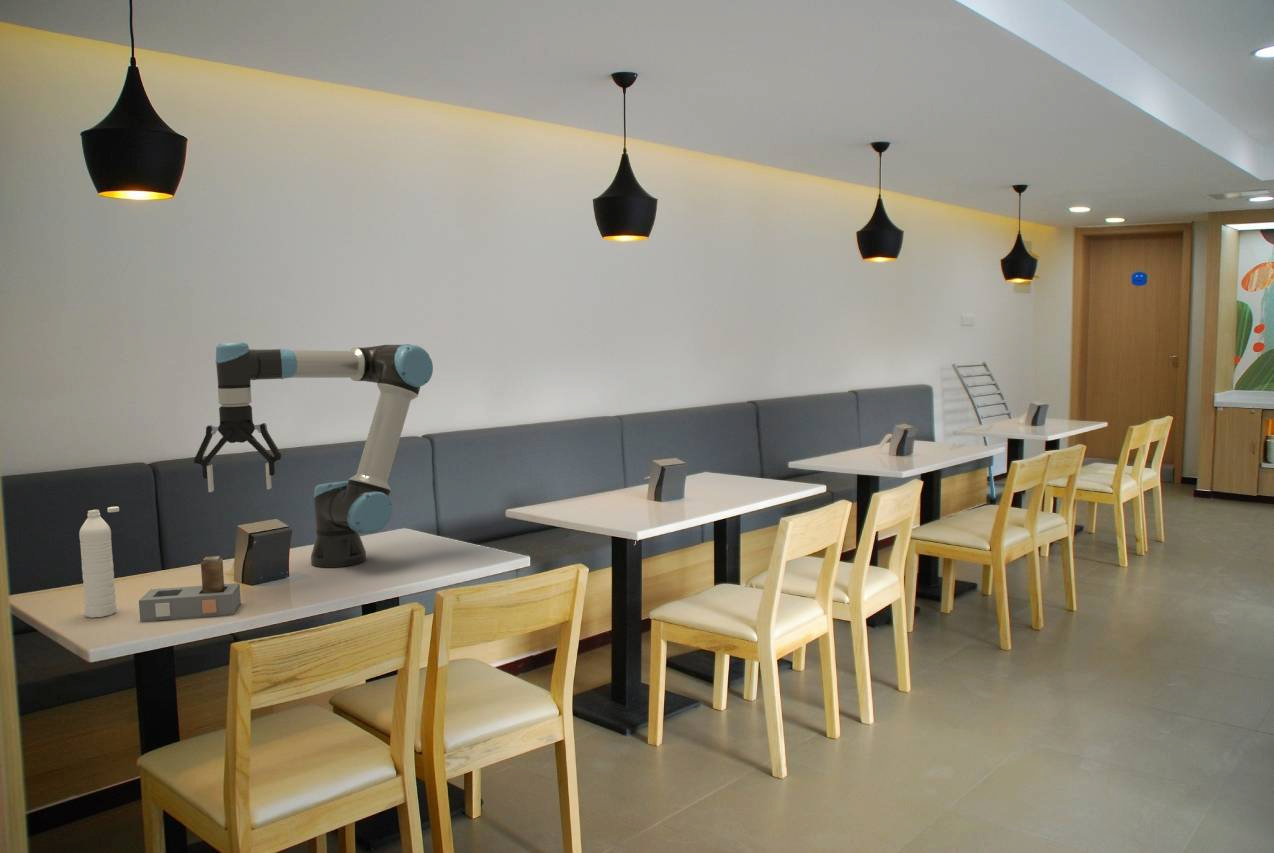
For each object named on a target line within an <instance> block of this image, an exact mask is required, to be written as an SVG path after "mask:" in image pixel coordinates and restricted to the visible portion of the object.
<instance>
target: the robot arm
mask: <svg viewBox="0 0 1274 853" xmlns="http://www.w3.org/2000/svg"><path fill="white" fill-rule="evenodd" d="M432 361H433V360H432V358H431V357H430V355H429V353H428V352H427V351H426V349H424V348H422V347H421V346H419V345H416V344H409V343H405V344H383V345H374V346H367V347H366V346H365V347H352V348H351V349H350V350H310V349H309V350H306V349H305V350H304V349H303V350H302V349H301V350H300V349H287V348H286V349H282V348H278V349H276V348H275V349H250V347H249V344H248V342H220V343H218V344H217V345H216V348H215V363H216V364H215V366H216V376H217V397H218V399H217V400H218V404H219V405H221V406H219V408H218V410H219V411H218V412H219V413H218V414H219V426H216V425H213V424H209V425H207V426H206V427H205V435H204V438H203V440H202V441H201V444H200V447H199V449H198V451H197V453H196V455H195V457H194V459H193V463H194V464H199V465H201V467H202V469H201V470H202V477H203V479H207V490H208V493H213V492H214V491H215V488H214V485H215V484H214V470H213V464H210V463H211V461H212V460H213V459H214V458H215V457H216V456H217V453H218V452H220V450H221V449H222V448H223V447H224V445H225V444H226V443H227V442H228V443H230V444H234V443H241V444H242V443H246V442H248V443H249V445H251V446H252V447H253V448H254V449H255V450H256V451H257V452H258V453H259V455H261V456H262V457H263V458H264V459H265V460H266V463H265V482H266V490H271V489H272V476H275V474H276V463H275V462H277V461H280V460H282V458H283V454H282V453H281V452H280V450H279V448H278V447H277V445H276V443H275V441H274V439H273V438H272V437H271V435H270V434H269V432H268V427H267V426H268V425H267V423H264V422H263V423H260V424H254V420H253V407H252V406H251V405H250V404H251V403H252V402H253V401H252V390H251V389H252V388H251V387H252V385H251V384H252V383H251V381H256V380H257V381H259V380H283V379H292V378H295V379H296V378H298V379H301V378H303V379H305V378H307V379H308V378H309V379H310V378H311V379H312V378H313V379H314V378H315V379H316V378H319V379H320V378H325V379H326V378H327V379H328V378H329V379H333V378H336V379H337V378H339V379H341V378H342V379H343V378H348V379H349V378H350V380H352V381H354V382H367V383H368V382H369V383H375V384H377V385H376V387H377V389H378V390H379V393H380V394H379V397H378V400H377V404H376V407H375V411H374V412H373V413H374V414H373V417H372V420H371V424H370V427H369V429H368V430H369V431H368V433H367V437H366V440H365V445H364V446H363V451H362V454H361V458H360V461H359V463H358V464H359V465H358V468H357V472H356V474H355V475H353V476H351V477H349V479H348V480H346V481H345V480H343V481H342V480H341V481H335V482H329V483H328V482H327V483H321V484H318V485H315V487H314V492H313V500H314V517H315V518H314V520H315V532H316V533H315V535H316V536H315V540H314V544H313V549H312V552H311V555H310V564H311V565H312V566H314V567H319V568H342V567H349V566H355V565H358V564H360V563H363V562H365V561H366V560H367V551H366V548H365V546H364V543H363V540H362V538H361V536H360V534H375V533H377V532H379V531H381V530H383V529H384V528H385V527H386V526H387V525H388V524H389V523H390V521H391V518H392V516H393V510H394V509H393V508H394V507H393V504H392V503H391V502H392V500H391V499H390V494H391V490H392V488H391V487H390V485H389V484H388V480H389V478H390V474H391V471H392V468H393V467H392V466H393V464H394V460H395V456H396V453H397V450H398V446H399V443H400V438H401V435H402V432H403V429H404V426H405V422H406V418H407V415H408V411H409V409H410V404H411V401H413V400H414V399H416V398H418V396H419V393H420V390H421V387H423V386H424V385H426V384H427V383H428V382H430V380H431V378H432V376H433V373H434V372H433V370H434V366H433V365H434V364H433V362H432ZM255 430H256V431H257V432H258V433H260V434H261V437H262V438H263V440H264V442H266V444H267V446H268V448H269V449H270V451H271V453H272V454H271V453H270V452H269V451H268V450H267V449H266V448H265V447H264V446H263V445H262V444H261V443H260V441H258V440H257V439H256V438H255V436H254V435H253V433H254V432H255ZM217 432H218V433H219V434H220V435H221V438H220V439H219V441H218V442H217V443H216V444H215V446H214V447H213V448H212V449H211V451H210V452H209V453H208V455H206V457H205V458H203V457H204V455H205V453H206V450H207V449H208V447H209V444H210V442H211V440H212V438H213V435H216V434H217Z"/></svg>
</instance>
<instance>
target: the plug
mask: <svg viewBox="0 0 1274 853" xmlns="http://www.w3.org/2000/svg"><path fill="white" fill-rule="evenodd" d="M223 560H224V559H223V558H221V555H214V556H205V557H204V558H203V559H202V562H201V563H200V569H201V571H200V572H201V586H202V589H203V594H205V593H219V592H224V584H225V579H224V578H225V577H224V575H225V574H224V562H223Z"/></svg>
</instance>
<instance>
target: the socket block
mask: <svg viewBox="0 0 1274 853" xmlns="http://www.w3.org/2000/svg"><path fill="white" fill-rule="evenodd" d="M241 599H242V598H241V584H240V582H239V583H237V582H235V583H224V592H219V593H205V594H203V589H202V585H195V586H178V587H166V588H151V589H149V590H148V591H147V592H146V593H145V594H144V595H143V596H142V597H141V598H139V600H138V611H139V622H141V623H143V622H155V621H167V620H169V621H170V620H181V619H182V620H183V619H184V620H185V619H195V618H197V619H198V618H207V617H208V618H209V617H221V616H222V617H224V616H233V615H234V614H235V612H236V611H237V609H238V608H239V606H240V605H241Z"/></svg>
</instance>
